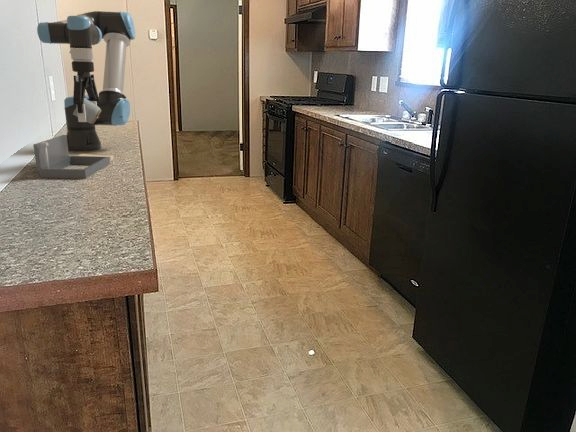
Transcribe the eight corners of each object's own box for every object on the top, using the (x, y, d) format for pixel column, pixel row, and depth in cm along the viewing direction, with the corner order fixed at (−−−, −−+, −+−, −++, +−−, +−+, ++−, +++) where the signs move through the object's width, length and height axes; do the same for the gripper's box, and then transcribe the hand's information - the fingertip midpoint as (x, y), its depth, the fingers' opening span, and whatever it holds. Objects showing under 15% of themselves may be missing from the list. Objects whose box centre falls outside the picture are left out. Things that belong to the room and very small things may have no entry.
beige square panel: (81, 156, 193) (81, 153, 193) (116, 157, 194) (115, 154, 194) (67, 163, 180) (67, 160, 180) (104, 163, 181) (104, 160, 180)
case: (67, 163, 179) (64, 133, 176) (110, 164, 180) (107, 134, 176) (37, 177, 156) (32, 143, 153) (85, 178, 157) (82, 144, 153)
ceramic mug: (91, 128, 180) (99, 113, 177) (70, 117, 177) (78, 102, 173) (98, 115, 189) (106, 101, 185) (78, 104, 185) (86, 89, 181)
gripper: (84, 60, 186) (90, 115, 193) (58, 60, 164) (65, 123, 171) (103, 60, 187) (108, 116, 194) (80, 61, 164) (86, 124, 171)
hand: (88, 119), depth 182 cm, fingers closed on ceramic mug, 12 cm apart
